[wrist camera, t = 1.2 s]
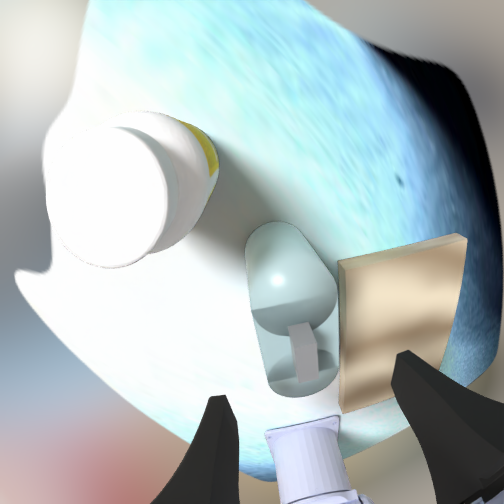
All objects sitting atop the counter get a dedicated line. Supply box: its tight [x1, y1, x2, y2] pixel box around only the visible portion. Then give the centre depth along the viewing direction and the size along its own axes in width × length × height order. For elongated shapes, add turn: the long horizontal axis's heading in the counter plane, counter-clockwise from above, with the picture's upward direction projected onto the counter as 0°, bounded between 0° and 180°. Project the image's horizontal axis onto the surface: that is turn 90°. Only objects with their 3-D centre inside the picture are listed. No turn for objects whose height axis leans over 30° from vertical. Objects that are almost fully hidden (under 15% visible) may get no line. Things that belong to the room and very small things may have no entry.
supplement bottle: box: [46, 111, 219, 268], centre depth 11 cm, size 5×5×10 cm
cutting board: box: [338, 233, 467, 414], centre depth 21 cm, size 16×11×2 cm
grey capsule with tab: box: [245, 222, 339, 398], centre depth 15 cm, size 9×4×8 cm, turn 11°
